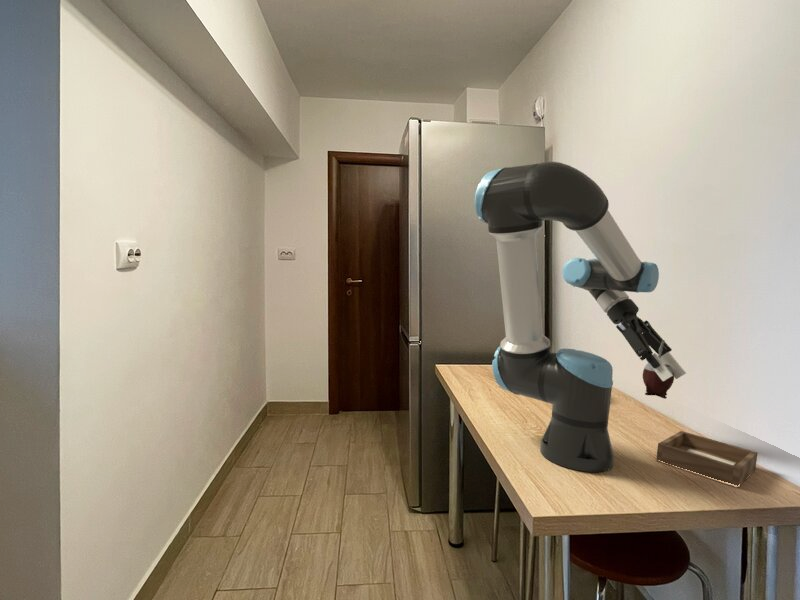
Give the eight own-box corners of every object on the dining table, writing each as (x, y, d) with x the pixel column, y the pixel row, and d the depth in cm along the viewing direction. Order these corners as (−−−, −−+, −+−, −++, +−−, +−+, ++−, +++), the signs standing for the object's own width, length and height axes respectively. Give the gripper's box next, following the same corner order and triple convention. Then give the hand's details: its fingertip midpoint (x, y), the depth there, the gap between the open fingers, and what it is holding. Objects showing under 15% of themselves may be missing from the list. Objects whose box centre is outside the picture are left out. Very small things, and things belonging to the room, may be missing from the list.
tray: (737, 488, 89) (739, 469, 88) (656, 460, 100) (658, 443, 100) (755, 469, 98) (757, 452, 98) (679, 446, 110) (681, 430, 109)
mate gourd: (656, 391, 119) (663, 336, 118) (681, 400, 112) (688, 341, 110) (633, 390, 117) (639, 334, 116) (656, 400, 110) (663, 340, 109)
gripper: (609, 296, 116) (669, 372, 103) (646, 298, 127) (703, 366, 115) (588, 314, 120) (643, 388, 108) (625, 314, 132) (679, 381, 119)
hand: (674, 377), depth 111 cm, fingers closed on mate gourd, 7 cm apart
